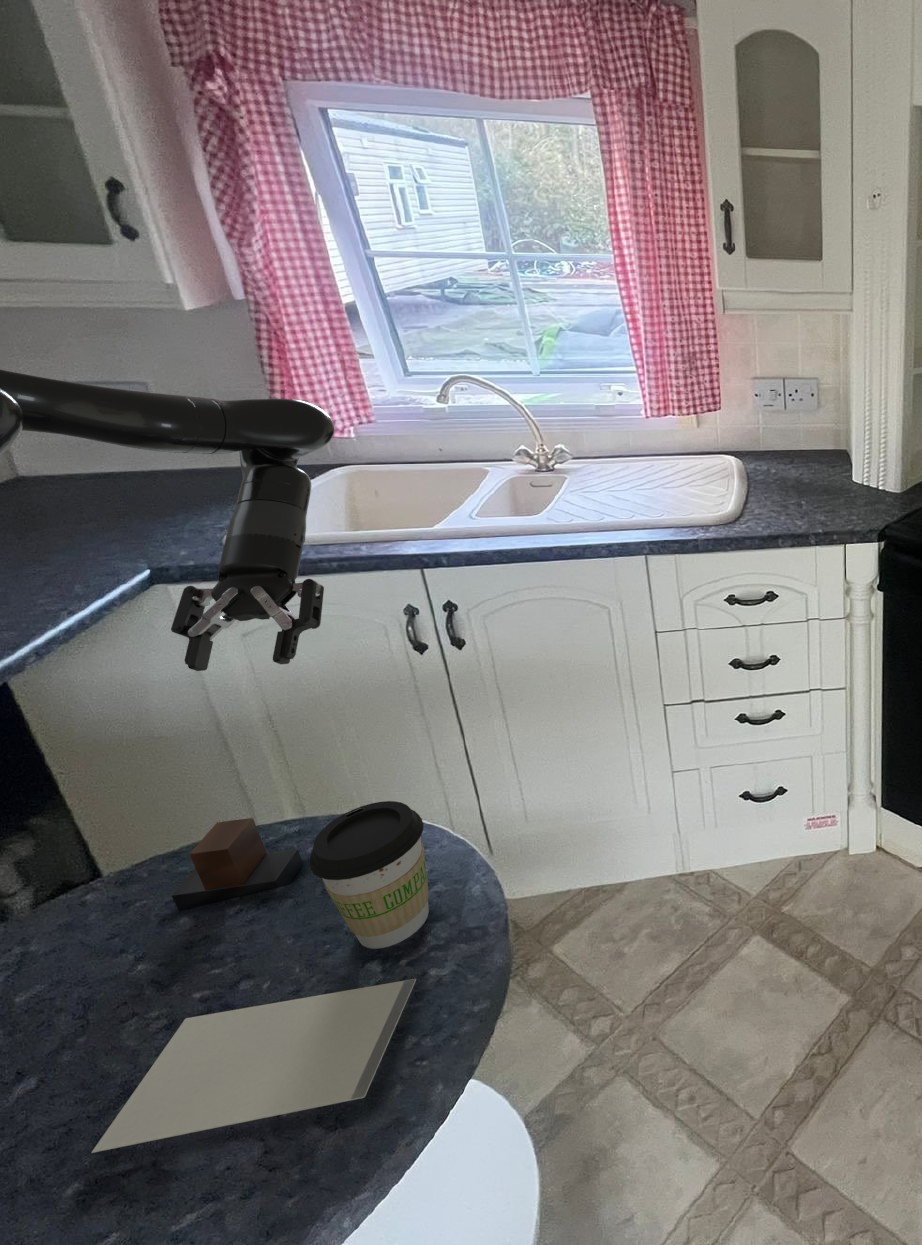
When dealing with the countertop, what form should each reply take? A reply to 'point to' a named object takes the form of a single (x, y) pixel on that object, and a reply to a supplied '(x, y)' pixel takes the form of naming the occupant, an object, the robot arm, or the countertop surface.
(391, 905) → the coffee cup
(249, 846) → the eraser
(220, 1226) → the countertop surface
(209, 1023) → the board
